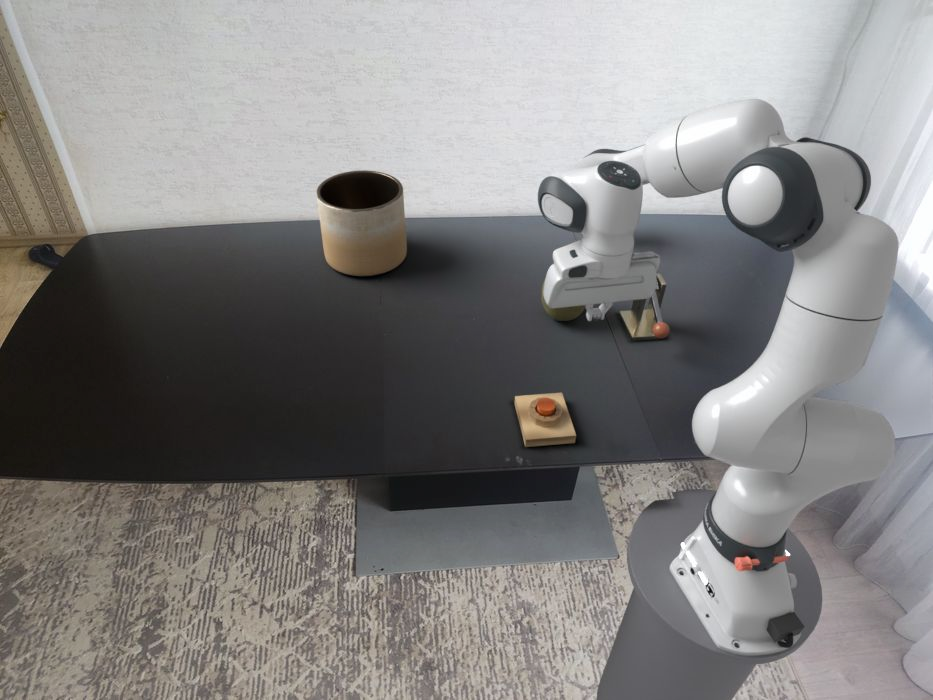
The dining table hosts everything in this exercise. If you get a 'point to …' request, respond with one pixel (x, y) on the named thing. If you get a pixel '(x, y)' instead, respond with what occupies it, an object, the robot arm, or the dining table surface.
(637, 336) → the lever bracket
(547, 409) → the button
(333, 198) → the planter
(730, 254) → the dining table surface
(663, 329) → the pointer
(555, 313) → the fruit
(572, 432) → the button block
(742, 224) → the robot arm
